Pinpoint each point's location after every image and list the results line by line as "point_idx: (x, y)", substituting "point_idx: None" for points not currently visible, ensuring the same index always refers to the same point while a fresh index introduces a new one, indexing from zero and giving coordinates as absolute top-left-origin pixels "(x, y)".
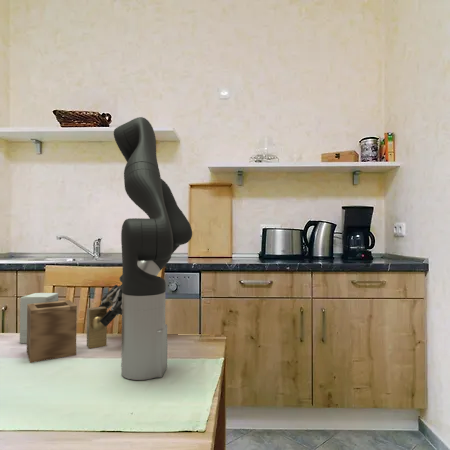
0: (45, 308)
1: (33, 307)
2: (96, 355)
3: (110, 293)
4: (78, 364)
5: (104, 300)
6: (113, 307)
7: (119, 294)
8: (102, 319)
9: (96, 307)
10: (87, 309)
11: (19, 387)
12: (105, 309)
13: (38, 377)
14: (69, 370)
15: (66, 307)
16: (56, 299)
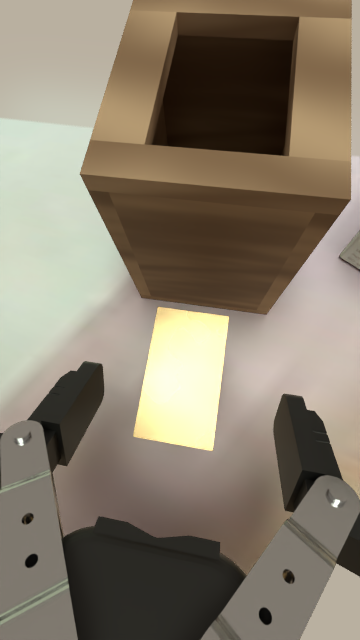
0: (141, 38)
1: (217, 3)
2: (88, 346)
3: (303, 610)
4: (54, 275)
5: (324, 510)
6: (4, 439)
7: (2, 608)
8: (78, 369)
9: (210, 380)
10: (214, 316)
11: (21, 142)
12: (137, 424)
13: (45, 179)
14: (30, 243)
15: (97, 125)
16: None
